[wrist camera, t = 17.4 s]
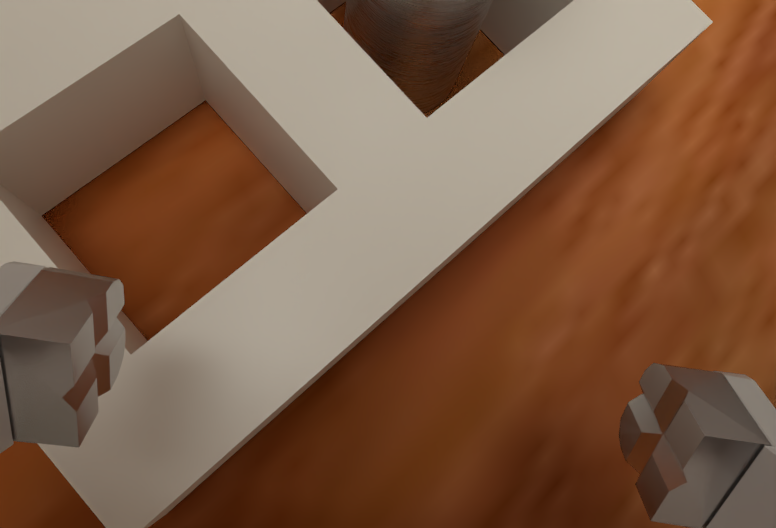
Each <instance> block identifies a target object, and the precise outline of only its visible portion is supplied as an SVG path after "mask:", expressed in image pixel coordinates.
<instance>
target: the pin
mask: <svg viewBox="0 0 776 528" xmlns="http://www.w3.org/2000/svg"><path fill="white" fill-rule="evenodd" d="M492 2H493V0H346V8H345V17H344V26H343V29H344V30H345V31H346V32H347V33H348V34H349V35H350V36H351V37H352V38H353V39H354V40H355V42H356V43H357V44H358V45H359V46H360V47H361V48H362V49H363V50H364V51H365V52H366V53H367V54H368V55H369V57H370V58H371V59H372V60H373V61H374V62H375V63H376V64H377V65H378V66H379V67H380V68H381V69H382V70H383V72H384V73H385V74H386V75H387V76H388V77H389V78H390V79H391V80H392V81H393V82H394V83H395V84H396V85H397V87H398V88H399V89H400V90H401V91H402V92H403V93H404V94H405V95H406V96H407V97H408V98H409V99H410V100H411V101H412V103H413V104H414V105H415V106H416V107H417V108H418V109H419V110H420V111H421V112H422V113H426V112H428V111H430V110H432V109H434V108H435V107H437V106H438V105H440V104H441V103H442V102H443V101H444V100H445V99H446V97H447V96H448V95H449V93H450V92H451V90H452V88H453V86H454V84H455V82H456V80H457V78H458V75H459V73H460V71H461V69H462V67H463V65H464V62H465V60H466V58H467V56H468V54H469V52H470V49H471V47H472V45H473V43H474V41H475V39H476V36H477V34H478V32H479V30H480V28H481V26H482V24H483V21H484V19H485V17H486V15H487V13H488V11H489V8H490V6H491V4H492Z"/></svg>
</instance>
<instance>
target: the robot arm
mask: <svg viewBox="0 0 776 528" xmlns="http://www.w3.org/2000/svg"><path fill="white" fill-rule="evenodd" d="M124 304H125V303H124V287H123V284H122V282H121V281H120V280H119V279H115V278H109V277H104V276H98V275H92V274H87V273H81V272H75V271H70V270H64V269H58V268H53V267H49V268H48V267H45V266H40V265H34V264H28V263H21V262H15V261H13V262H9V263H5V264H3V265H2V266H1V267H0V453H1V452H3V451H4V450H6V449H7V448H9V447H10V446H12V445H13V441H20V442H29V443H39V444H49V445H59V446H69V447H80V445H81V443H82V441H83V440H84V438H85V436H86V434H87V432H88V430H89V429H90V427H91V425H92V423H93V421H94V419H95V418H96V416H97V414H98V397H99V396H100V395H102V394H104V393H106V392H108V391H109V390H111V388H112V386H113V384H114V382H115V380H116V378H117V376H118V374H119V370H120V367H121V364H122V360H123V357H124V349H125V327H124V326H123V325H122V324H121V322H120V321H119V320H118V319H117V316H118V314H119V312H120V311H121V309H122V307H123V306H124ZM639 383H640V386H641V390H642V393H643V394H641V395H639V396H638V397H636V398H635V399H633V400H631V401H630V402H628V404H627V406H626V408H625V410H624V412H623V414H622V417H621V420H620V429H619V440H620V447H621V450H622V453H623V455H624V458H625V460H626V462H627V463H629V464H630V465H631V466H632V467H633V468H634V469H635V470H636V471H637V472H638V473H639V474H640V475H639V477H638V479H637V482H636V484H635V485H636V487H637V489H638V492H639V494H640V497H641V499H642V501H643V504H644V506H645V508H646V511H647V513H648V516H649V518H650V520H651V521H654V522H660V523H667V524H673V525H679V526H686V527H692V528H776V409H775V408H774V406H773V405H772V404H771V402H770V401H769V399H768V398H767V397H766V395H765V394H764V393H763V391H762V390H761V389H760V387H759V386H758V385H757V383H756V382H755V381H754V380H753V379H751V378H750V377H748V376H746V375H744V374H736V373H728V372H720V371H706V370H699V369H692V368H685V367H678V366H671V365H665V364H658V363H653V364H652V365H651V366H649V367H648V368H647V369H646V370H645V372H644V374H643V375H642V377H641V379H640V381H639Z"/></svg>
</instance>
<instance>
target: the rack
mask: <svg viewBox="0 0 776 528" xmlns="http://www.w3.org/2000/svg"><path fill="white" fill-rule="evenodd" d="M344 2H346V0H0V267H1V266H2V265H3V264H5V263H9V262H13V261H15V262H21V263H28V264H34V265H40V266H45V267H48V268H49V267H53V268H58V269H64V270H70V271H75V272H81V273H87V274H90V272H89V271H88V270H87V269H86V268H85V266H84V265H83V264H82V263H81V262H80V261H79V259H78V258H77V257H76V256H75V255H74V253H73V252H72V251H71V250H70V249H69V248H68V246H67V245H66V244H65V243H64V242H63V240H62V239H61V238H60V237H59V236H58V235H57V233H56V232H55V231H54V230H53V229H52V228H51V226H50V225H49V224H48V223H47V222H46V220H45V219H44V218H43V217H42V215H43V214H45V213H46V212H48V211H49V210H50V209H52V208H53V207H55V206H56V205H58V204H59V203H60V202H62V201H63V200H65V199H66V198H67V197H69V196H70V195H72V194H73V193H75V192H76V191H77V190H79V189H80V188H82V187H83V186H84V185H86V184H87V183H89V182H90V181H92V180H93V179H94V178H96V177H97V176H99V175H100V174H102V173H103V172H104V171H106V170H107V169H109V168H110V167H111V166H113V165H114V164H116V163H117V162H119V161H120V160H121V159H123V158H124V157H126V156H127V155H128V154H130V153H131V152H133V151H134V150H136V149H137V148H138V147H140V146H141V145H143V144H144V143H146V142H147V141H148V140H150V139H151V138H153V137H154V136H155V135H157V134H158V133H160V132H161V131H163V130H164V129H165V128H167V127H168V126H170V125H171V124H173V123H174V122H175V121H177V120H178V119H180V118H181V117H182V116H184V115H185V114H187V113H188V112H190V111H191V110H192V109H194V108H195V107H197V106H198V105H199V104H201V103H202V102H204V101H205V100H206V101H207V102H208V104H209V105H210V106H211V107H212V108H213V109H214V110H215V111H216V113H217V114H218V115H219V116H220V117H221V118H222V119H223V120H224V121H225V123H226V124H227V125H228V126H229V127H230V128H231V129H232V130H233V132H234V133H235V134H236V135H237V136H238V137H239V138H240V139H241V140H242V142H243V143H244V144H245V145H246V146H247V147H248V148H249V149H250V150H251V152H252V153H253V154H254V155H255V156H256V157H257V158H258V159H259V161H260V162H261V163H262V164H263V165H264V166H265V167H266V168H267V169H268V171H269V172H270V173H271V174H272V175H273V176H274V177H275V178H276V180H277V181H278V182H279V183H280V184H281V185H282V186H283V187H284V188H285V190H286V191H287V192H288V193H289V194H290V195H291V196H292V197H293V199H294V200H295V201H296V202H297V203H298V204H299V205H300V206H301V207H302V209H303V210H304V211H305V212H306V213H307V214H306V215H305V216H304V217H302V218H301V219H300V220H299V221H297V222H296V223H295V224H294V225H292V226H291V227H290V228H289V229H287V230H286V231H285V232H284V233H282V234H281V235H280V236H279V237H277V238H276V239H275V240H274V241H272V242H271V243H270V244H269V245H267V246H266V247H265V248H264V249H262V250H261V251H260V252H259V253H257V254H256V255H255V256H254V257H252V258H251V259H250V260H249V261H247V262H246V263H245V264H244V265H242V266H241V267H240V268H239V269H237V270H236V271H235V272H234V273H232V274H231V275H230V276H229V277H227V278H226V279H225V280H224V281H222V282H221V283H220V284H219V285H217V286H216V287H215V288H214V289H212V290H211V291H210V292H209V293H207V294H206V295H205V296H204V297H202V298H201V299H200V300H199V301H197V302H196V303H195V304H194V305H192V306H191V307H190V308H189V309H187V310H186V311H185V312H184V313H182V314H181V315H180V316H179V317H177V318H176V319H175V320H174V321H172V322H171V323H170V324H169V325H167V326H166V327H165V328H164V329H162V330H161V331H160V332H159V333H157V334H156V335H155V336H154V337H152V338H151V339H150V340H149V341H147V340H146V339H145V337H144V336H143V335H142V334H141V333H140V331H139V330H138V329H137V328H136V327H135V326H134V324H133V323H132V322H131V321H130V320H129V318H128V317H127V316H126V315H125V314H124V313H123V311H122V310H121V311H120V312H119V314H118V316H117V319H118V320H119V321H120V322H121V324H122V325H123V326H124V327H125V349H124V357H123V360H122V364H121V367H120V370H119V374H118V376H117V378H116V380H115V382H114V384H113V386H112V388H111V390H109V391H108V392H106V393H104V394H102V395H100V396H99V397H98V414H97V416H96V418H95V419H94V421H93V423H92V425H91V427H90V429H89V430H88V432H87V434H86V436H85V438H84V440H83V441H82V443H81V445H80V447H69V446H59V445H49V444H39V443H37V444H38V445H39V446H40V447H41V449H42V450H43V451H44V452H45V454H46V455H47V456H48V457H49V458H50V460H51V461H52V462H53V463H54V465H55V466H56V467H57V468H58V470H59V471H60V472H61V473H62V474H63V476H64V477H65V478H66V479H67V481H68V482H69V483H70V484H71V486H72V487H73V488H74V489H75V490H76V492H77V493H78V494H79V495H80V497H81V498H82V499H83V500H84V502H85V503H86V504H87V505H88V506H89V508H90V509H91V510H92V511H93V513H94V514H95V515H96V516H97V518H98V519H99V520H100V521H101V522H102V524H103V525H104V526H105V527H106V528H148V527H150V526H151V525H152V524H154V523H155V522H156V521H158V520H159V519H161V518H162V517H163V516H165V515H166V514H167V513H168V512H169V511H171V510H172V509H173V508H174V507H175V506H176V505H177V504H178V503H180V502H181V501H182V500H183V499H184V498H185V497H186V496H187V495H189V494H190V493H191V492H192V491H193V490H194V489H195V488H196V487H198V486H199V485H200V484H201V483H202V482H203V481H204V480H205V479H207V478H208V477H209V476H210V475H211V474H212V473H213V472H214V471H215V470H217V469H218V468H219V467H220V466H221V465H222V464H223V463H224V462H226V461H227V460H228V459H229V458H230V457H231V456H232V455H233V454H235V453H236V452H237V451H238V450H239V449H240V448H241V447H242V446H244V445H245V444H246V443H247V442H248V441H249V440H250V439H251V438H253V437H254V436H255V435H256V434H257V433H258V432H259V431H260V430H261V429H263V428H264V427H265V426H266V425H267V424H268V423H269V422H270V421H272V420H273V419H274V418H275V417H276V416H277V415H278V414H279V413H281V412H282V411H283V410H284V409H285V408H286V407H287V406H288V405H290V404H291V403H292V402H293V401H294V400H295V399H296V398H297V397H299V396H300V395H301V394H302V393H303V392H304V391H305V390H306V389H307V388H309V387H310V386H311V385H312V384H313V383H314V382H315V381H316V380H318V379H319V378H320V377H321V376H322V375H323V374H324V373H325V372H327V371H328V370H329V369H330V368H331V367H332V366H333V365H334V364H336V363H337V362H338V361H339V360H340V359H341V358H342V357H343V356H345V355H346V354H347V353H348V352H349V351H350V350H351V349H352V348H353V347H355V346H356V345H357V344H358V343H359V342H360V341H361V340H362V339H364V338H365V337H366V336H367V335H368V334H369V333H370V332H371V331H373V330H374V329H375V328H376V327H377V326H378V325H379V324H380V323H382V322H383V321H384V320H385V319H386V318H387V317H388V316H389V315H391V314H392V313H393V312H394V311H395V310H396V309H397V308H398V307H399V306H401V305H402V304H403V303H404V302H405V301H406V300H407V299H408V298H410V297H411V296H412V295H413V294H414V293H415V292H416V291H417V290H419V289H420V288H421V287H422V286H423V285H424V284H425V283H426V282H428V281H429V280H430V279H431V278H432V277H433V276H434V275H435V274H437V273H438V272H439V271H440V270H441V269H442V268H443V267H444V266H446V265H447V264H448V263H449V262H450V261H451V260H452V259H453V258H454V257H456V256H457V255H458V254H459V253H460V252H461V251H462V250H463V249H465V248H466V247H467V246H468V245H469V244H470V243H471V242H472V241H474V240H475V239H476V238H477V237H478V236H479V235H480V234H481V233H483V232H484V231H485V230H486V229H487V228H488V227H489V226H490V225H492V224H493V223H494V222H495V221H496V220H497V219H498V218H499V217H500V216H502V215H503V214H504V213H505V212H506V211H507V210H508V209H509V208H511V207H512V206H513V205H514V204H515V203H516V202H517V201H518V200H520V199H521V198H522V197H523V196H524V195H525V194H526V193H527V192H529V191H530V190H531V189H532V188H533V187H534V186H535V185H536V184H538V183H539V182H540V181H541V180H542V179H543V178H544V177H545V176H546V175H548V174H549V173H550V172H551V171H552V170H553V169H554V168H555V167H557V166H558V165H559V164H560V163H561V162H562V161H563V160H564V159H566V158H567V157H568V156H569V155H570V154H571V153H572V152H573V151H575V150H576V149H577V148H578V147H579V146H580V145H581V144H582V143H584V142H585V141H586V140H587V139H588V138H589V137H590V136H591V135H592V134H594V133H595V132H596V131H597V130H598V129H599V128H600V127H601V126H603V125H604V124H605V123H606V122H607V121H608V120H609V119H610V118H612V117H613V116H614V115H615V114H616V113H617V112H618V111H619V110H621V109H622V108H623V107H624V106H625V105H626V104H627V103H628V102H630V101H631V100H632V99H633V98H634V97H635V96H636V95H637V94H638V93H639V92H640V91H641V90H642V89H643V88H644V87H645V86H647V85H648V84H649V83H650V82H651V81H652V80H653V79H654V78H655V77H656V76H657V75H658V74H659V73H660V72H661V71H662V70H663V69H664V68H665V67H666V66H667V65H669V64H670V63H671V62H672V61H673V60H674V59H675V58H676V57H677V56H678V55H679V54H680V53H681V52H682V51H683V50H684V49H685V48H686V47H687V46H688V45H689V44H691V43H692V42H693V41H694V40H695V39H696V38H697V37H698V36H699V35H700V34H701V33H702V32H703V31H704V30H705V29H706V28H707V27H708V26H709V25H710V24H711V23H713V21H712V20H711V19H710V18H709V17H708V16H707V15H705V14H704V13H703V12H702V11H701V10H700V9H699V8H698V7H697V6H696V5H695V4H694V3H693V2H692V1H691V0H493V2H492V4H491V6H490V8H489V11H488V13H487V15H486V17H485V19H484V21H483V24H482V26H481V28H480V29H481V31H482V32H483V33H484V34H485V35H486V36H487V37H488V38H489V39H490V40H491V41H492V42H493V43H494V44H495V45H496V46H497V47H498V48H499V49H500V50H501V51H502V52H503V53H504V55H505V56H504V57H502V58H501V59H500V60H499V61H497V62H496V63H495V64H494V65H492V66H491V67H490V68H489V69H487V70H486V71H485V72H484V73H482V74H481V75H480V76H479V77H477V78H476V79H475V80H474V81H472V82H471V83H470V84H469V85H467V86H466V87H465V88H464V89H462V90H461V91H460V92H459V93H457V94H456V95H455V96H454V97H452V98H451V99H450V100H449V101H447V102H446V103H445V104H444V105H442V106H441V107H440V108H439V109H437V110H436V111H435V112H434V113H432V114H431V115H430V116H429V117H427V118H426V116H425V115H424V114H423V113H422V112H421V111H420V110H419V109H418V108H417V107H416V106H415V105H414V104H413V103H412V101H411V100H410V99H409V98H408V97H407V96H406V95H405V94H404V93H403V92H402V91H401V90H400V89H399V88H398V87H397V85H396V84H395V83H394V82H393V81H392V80H391V79H390V78H389V77H388V76H387V75H386V74H385V73H384V72H383V70H382V69H381V68H380V67H379V66H378V65H377V64H376V63H375V62H374V61H373V60H372V59H371V58H370V57H369V55H368V54H367V53H366V52H365V51H364V50H363V49H362V48H361V47H360V46H359V45H358V44H357V43H356V42H355V40H354V39H353V38H352V37H351V36H350V35H349V34H348V33H347V32H346V31H345V30H344V29H343V28H342V27H341V25H340V24H339V23H338V22H337V21H336V20H335V19H334V18H333V17H332V16H331V15H330V14H329V13H330V12H332V11H333V10H334V9H336V8H337V7H339V6H340V5H341V4H343V3H344Z"/></svg>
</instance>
